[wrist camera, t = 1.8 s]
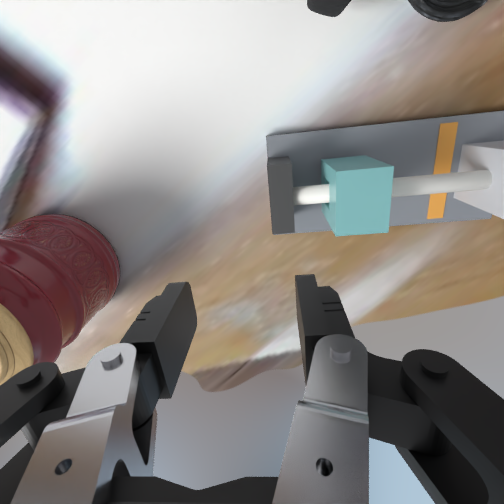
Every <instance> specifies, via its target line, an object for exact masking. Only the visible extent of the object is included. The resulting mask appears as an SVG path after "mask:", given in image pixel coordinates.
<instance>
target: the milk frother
mask: <svg viewBox="0 0 504 504" xmlns="http://www.w3.org/2000/svg"><path fill="white" fill-rule="evenodd" d="M350 1H351V0H307V6H308V8H309V9H310V10H311V11H313V12H316V13H318V14H322V15H326V16H330V17H336V16H338V15H339V14H340V13H341V12H342V11H343V10H344V8H345V7H346V6H347V5H348V4H349V2H350ZM408 1H409V3H410V4H411V5H412V6H413V8H414V9H415V10H416V11H417V12H419V13H420V14H421V15H423V16H425V17H426V18H428V19H431V20H434V21H438V22H447V21H455V20H458V19H461V18H463V17H465V16H467V15H469V14H471V13H472V12H474V11H475V10H477V9H478V8H480V7H481V6H482V5H484V4H485V3H486V2H487V1H488V0H408Z"/></svg>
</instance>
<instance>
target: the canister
mask: <svg viewBox="0 0 504 504" xmlns="http://www.w3.org/2000/svg"><path fill="white" fill-rule="evenodd" d="M119 279H120V266H119V262H118V259H117V256H116V254H115V252H114V250H113V248H112V246H111V245H110V243H109V242H108V241H107V240H106V238H105V237H104V236H103V235H102V234H101V233H100V232H99V231H97V230H96V229H95V228H94V227H92V226H91V225H89V224H87V223H86V222H84V221H82V220H80V219H77V218H74V217H71V216H67V215H61V214H48V215H40V216H34V217H31V218H28V219H26V220H23V221H21V222H19V223H17V224H16V225H14V226H13V227H11V228H9V229H6V230H4V231H1V232H0V385H2V384H3V383H4V382H6V381H7V380H8V379H10V378H11V377H13V376H14V375H15V374H17V373H18V372H20V371H22V370H23V369H25V368H27V367H30V366H32V365H35V364H38V363H42V362H53V363H54V362H55V361H56V360H57V358H58V356H59V355H60V352H61V349H62V348H64V347H66V346H67V345H69V344H70V343H72V342H73V341H74V340H75V339H76V338H77V336H78V335H79V333H80V332H81V330H82V328H83V327H84V326H85V325H86V324H87V323H88V322H89V321H90V320H91V319H92V317H93V316H94V315H95V314H96V313H97V312H98V311H100V310H101V309H102V308H103V307H105V305H106V304H107V303H108V302H109V301H110V300H111V298H112V297H113V295H114V293H115V290H116V288H117V286H118V283H119Z"/></svg>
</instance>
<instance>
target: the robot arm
mask: <svg viewBox="0 0 504 504" xmlns="http://www.w3.org/2000/svg"><path fill="white" fill-rule="evenodd" d="M295 287H296V306H297V321H298V329H299V337H300V345H301V353H302V360H303V367H304V375H305V383H306V390H305V394H304V398H303V401H298V403H297V406H296V409H295V413H294V417H293V421H292V425H291V429H290V433H289V437H288V441H287V445H286V449H285V453H284V457H283V461H282V465H281V469H280V474H279V477H244V478H240V479H237V480H233V481H230V482H227V483H223V484H219V485H216V486H213V487H209V488H206V489H202V490H193V489H190V488H187V487H184V486H181V485H178V484H175V483H172V482H169V481H166V480H164V479H161V478H158V477H154V476H153V466H154V453H155V440H156V428H157V411H156V408H155V406H156V404H157V401H158V399H168V398H171V397H172V394H173V392H174V389H175V386H176V383H177V380H178V378H179V375H180V372H181V370H182V367H183V364H184V361H185V359H186V356H187V353H188V350H189V347H190V345H191V342H192V339H193V336H194V334H195V331H196V327H197V315H196V310H195V305H194V301H193V296H192V291H191V287H190V284H189V283H188V282H177V283H169V284H168V285H167V286H166V288H165V290H164V291H163V293H162V294H161V296H156V297H154V298H153V299H152V300H150V301H149V302H148V303H146V305H145V306H144V308H143V309H142V311H141V313H140V314H139V315H138V316H137V318H136V321H134V322H133V324H132V325H131V327H130V328H129V330H128V331H127V332H126V334H125V335H124V337H123V338H122V340H121V341H120V343H118V344H114V345H111V346H108V347H106V348H104V349H102V350H100V351H99V352H98V353H96V354H95V355H94V356H93V357H92V358H91V359H90V360H89V362H88V364H87V366H86V368H82V369H78V370H75V371H71V372H67V373H63V374H61V372H60V370H59V368H58V366H57V365H56V364H55V363H53V362H42V363H38V364H35V365H32V366H30V367H27V368H25V369H23V370H22V371H20V372H18V373H17V374H15V375H14V376H13V377H11V378H10V379H8V380H7V381H6V382H4V383H3V384H2V385H0V447H1V446H2V445H4V444H5V443H6V442H7V441H8V440H9V439H10V438H11V437H12V436H14V435H15V434H16V433H17V432H18V431H19V430H20V429H21V431H22V432H23V434H24V435H25V437H26V439H27V440H28V442H29V443H28V444H27V445H26V446H25V447H24V448H22V449H21V450H20V451H19V452H18V453H17V454H16V455H15V456H14V457H13V458H12V459H11V460H10V461H9V462H8V463H7V464H6V465H5V466H4V467H3V468H2V469H0V504H369V437H370V438H373V439H377V440H380V441H383V442H386V443H390V444H393V445H395V447H396V448H397V450H398V452H399V453H400V454H401V456H402V457H403V458H404V460H405V461H406V463H407V464H408V466H409V467H410V468H411V470H412V471H413V473H414V474H415V476H416V477H417V478H418V480H419V481H420V483H421V484H422V486H423V487H424V488H425V490H426V491H427V493H428V494H429V495H430V496H431V498H432V499H433V501H434V503H435V504H504V399H502V398H501V397H500V396H499V395H497V394H496V393H495V392H494V391H492V390H491V389H490V388H489V387H488V386H486V385H485V384H483V383H482V382H481V381H480V380H479V379H478V378H476V377H475V376H474V375H473V374H471V373H470V372H469V371H468V370H467V369H465V368H464V367H463V366H461V365H460V364H459V363H458V362H457V361H455V360H454V359H452V358H451V357H449V356H447V355H445V354H442V353H439V352H437V351H432V350H426V349H419V350H413V351H411V352H408V353H407V354H406V355H405V356H404V357H403V360H402V361H396V360H392V359H386V358H382V357H379V356H376V355H373V354H371V353H369V352H368V351H367V350H366V347H365V346H364V345H363V344H362V343H361V342H360V341H359V340H357V339H355V337H354V334H353V331H352V329H351V326H350V324H349V321H348V318H347V316H346V313H345V311H344V308H343V305H342V304H341V300H340V298H339V295H338V293H337V292H336V291H335V290H333V289H332V288H331V287H330V286H324V287H318V286H317V282H316V279H315V275H314V274H310V275H295Z"/></svg>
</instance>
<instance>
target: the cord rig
mask: <svg viewBox="0 0 504 504" xmlns="http://www.w3.org/2000/svg"><path fill="white" fill-rule="evenodd" d="M266 141H267V154H268V162H267V171H268V183H269V196H270V208H271V221H272V233H273V234H274V235H278V234H291V233H305V232H318V231H331V230H332V229H331V227H330V225H329V223H328V222H327V220H326V218H325V216H324V214H323V212H322V203H329V184H322V185H321V159H331V158H341V157H352V156H362V155H366V156H368V157H371V158H374V159H376V160H379V161H382V162H384V163H387V164H390V165H392V166H394V172H393V184H392V195H391V207H390V218H389V226H398V225H411V224H425V223H438V222H451V221H465V220H478V219H491V217H492V214H493V215H495V216H498V217H500V218H502V219H504V110H503V111H493V112H484V113H475V114H466V115H456V116H447V117H438V118H428V119H419V120H410V121H400V122H391V123H382V124H373V125H363V126H354V127H345V128H335V129H326V130H317V131H307V132H298V133H289V134H280V135H270V136H266Z"/></svg>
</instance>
